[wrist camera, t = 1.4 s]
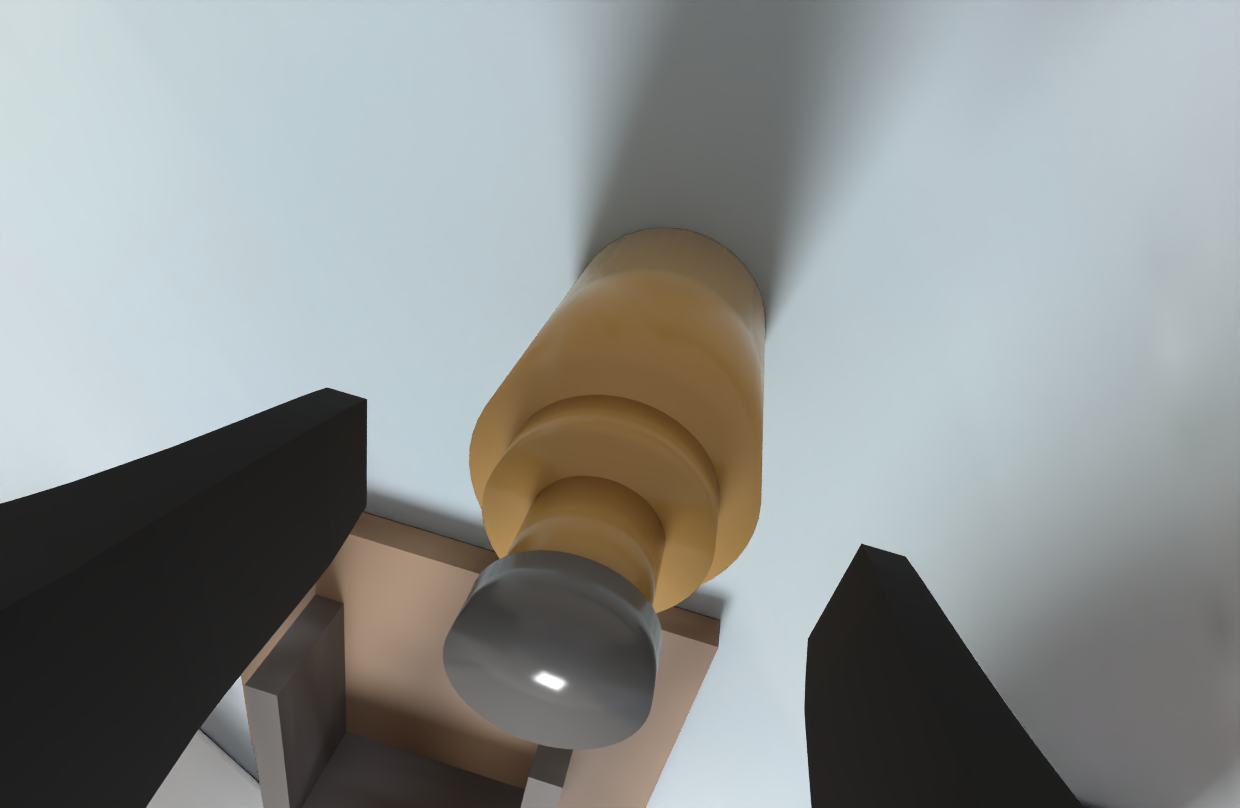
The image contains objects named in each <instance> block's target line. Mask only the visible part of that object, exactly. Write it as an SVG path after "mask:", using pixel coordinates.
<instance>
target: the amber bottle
mask: <svg viewBox="0 0 1240 808" xmlns="http://www.w3.org/2000/svg"><path fill="white" fill-rule="evenodd" d="M764 352H765V312H764V306H763V301H762V298H761V294H760V291H759V289H758V287H757V285H756V283H755V280H754V279H753V277H752V275H751V274H750V272H749V271H748V269H747V268H746V267H745V266H744V264H743V263H742V262H741V261H740V260H739V259H738V258H737V257H736V256H735V255H734V254H733V253H732V252H731V251H729V250H728V249H727V248H725V247H724V246H722V245H721V244H719V243H718V242H716V241H714V240H712V239H710V238H708V237H706V236H704V235H701V234H698V233H695V232H692V231H688V230H683V229H677V228H651V229H646V230H641V231H637V232H634V233H631V234H628V235H625V236H623V237H621V238H619V239H617V240H615V241H614V242H612V243H611V244H609V245H608V246H606V247H605V248H604V249H603V250H601V251H600V252H599V253H598V254H597V255H596V256H595V257H594V258H593V260H592V261H591V262H590V263H589V264H588V266H587V267H586V268H585V270H584V271H583V273H582V274H581V275H580V277H579V278H578V279H577V281H576V282H575V284H574V285H573V286H572V288H571V289H570V290H569V292H568V293H567V295H566V296H565V297H564V299H563V300H562V301H561V303H560V304H559V306H558V307H557V308H556V310H555V311H554V313H553V314H552V315H551V317H550V318H549V319H548V321H547V322H546V324H545V325H544V326H543V328H542V329H541V330H540V332H539V333H538V335H537V336H536V337H535V339H534V340H533V341H532V343H531V344H530V346H529V347H528V348H527V350H526V351H525V352H524V354H523V355H522V357H521V358H520V359H519V361H518V362H517V364H516V365H515V366H514V368H513V369H512V370H511V372H510V373H509V375H508V376H507V377H506V379H505V380H504V381H503V383H502V384H501V386H500V387H499V388H498V390H497V391H496V392H495V394H494V395H493V397H492V398H491V399H490V401H489V402H488V403H487V405H486V406H485V408H484V410H483V412H482V413H481V415H480V417H479V418H478V421H477V423H476V426H475V429H474V431H473V434H472V439H471V444H470V454H469V466H470V474H471V481H472V484H473V488H474V492H475V495H476V497H477V500H478V502H479V504H480V507H481V509H482V515H483V523H484V527H485V530H486V534H487V536H488V539H489V541H490V543H491V546H492V547H493V549H494V551H495V552H496V554H497V556H498V557H499V560H497V561H495V562H493V563H492V564H490V565H489V566H488V567H487V568H486V569H484V570H483V571H482V572H481V574H480V575H479V576H478V578H477V579H476V581H475V583H474V585H473V586H472V588H471V590H470V592H469V594H468V596H467V598H466V600H465V602H464V604H463V606H462V608H461V609H460V611H459V613H458V615H457V617H456V619H455V621H454V623H453V625H452V627H451V629H450V631H449V632H448V635H447V637H446V639H445V642H444V647H443V663H444V668H445V671H446V674H447V676H448V678H449V680H450V682H451V684H452V686H453V688H454V689H455V690H456V692H457V693H458V695H459V696H460V697H461V698H462V699H463V700H464V702H465V703H466V704H467V705H468V706H469V707H471V708H472V709H473V710H474V711H475V712H476V713H477V714H479V715H480V716H481V717H483V718H484V719H485V720H487V721H488V722H490V723H491V724H493V725H494V726H496V727H498V728H500V729H502V730H504V731H505V732H507V733H510V734H512V735H514V736H516V737H519V738H521V739H524V740H527V741H530V742H533V743H537V744H540V745H544V746H549V747H554V748H562V749H575V750H584V749H596V748H602V747H606V746H610V745H614V744H616V743H619V742H621V741H624V740H625V739H627V738H629V737H630V736H632V735H633V734H634V733H636V732H637V731H638V730H639V729H640V728H641V727H642V726H643V724H644V723H645V722H646V720H647V718H648V716H649V713H650V710H651V706H652V701H653V695H654V689H655V683H656V678H657V672H658V666H659V660H660V654H661V649H662V630H661V626H660V622H659V619H658V617H657V615H656V613H658V612H661V611H663V610H666V609H669V608H671V607H673V606H675V605H677V604H678V603H680V602H682V601H683V600H684V599H686V598H687V597H689V596H690V595H691V594H692V593H693V592H694V591H695V590H696V589H697V588H698V587H699V586H700V585H701V584H703V583H705V582H707V581H709V580H711V579H713V578H714V577H716V576H717V575H719V574H720V573H721V572H723V571H724V570H726V569H727V568H728V567H729V566H730V565H731V564H732V563H733V562H734V561H735V560H736V559H737V558H738V557H739V555H740V554H741V553H742V552H743V550H744V549H745V548H746V546H747V544H748V543H749V541H750V539H751V537H752V535H753V533H754V531H755V528H756V525H757V522H758V519H759V513H760V507H761V486H762V442H763V397H764Z"/></svg>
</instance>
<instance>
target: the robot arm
mask: <svg viewBox="0 0 1240 808" xmlns="http://www.w3.org/2000/svg"><path fill="white" fill-rule="evenodd" d="M366 498H367V399H365V398H361V397H358V396H354V395H351V394H347V393H344V392H341V391H337V390H334V389H330V388H324V389H321V390H318V391H315V392H312V393H310V394H307V395H304V396H301V397H299V398H296V399H293V400H291V401H288V402H286V403H283V404H281V405H278V406H276V407H273V408H270V409H268V410H265V411H263V412H260V413H258V414H255V415H253V416H250V417H248V418H245V419H243V420H240V421H238V422H235V423H233V424H230V425H228V426H225V427H222V428H220V429H217V430H215V431H212V432H210V433H207V434H204V435H202V436H199V437H197V438H194V439H192V440H189V441H187V442H184V443H181V444H179V445H176V446H174V447H171V448H168V449H165V450H163V451H160V452H157V453H154V454H151V455H148V456H145V457H143V458H140V459H137V460H134V461H131V462H128V463H125V464H123V465H120V466H117V467H114V468H111V469H108V470H105V471H103V472H100V473H97V474H94V475H91V476H88V477H86V478H83V479H80V480H77V481H74V482H71V483H68V484H64V485H61V486H58V487H55V488H52V489H49V490H45V491H42V492H39V493H35V494H32V495H29V496H26V497H22V498H19V499H15V500H12V501H8V502H5V503H1V504H0V808H146V807H147V805H148V804H149V802H150V801H151V799H152V798H153V796H154V795H155V793H156V792H157V790H158V789H159V787H160V786H161V784H162V783H163V781H164V780H165V778H166V777H167V776H168V774H169V773H170V771H171V770H172V768H173V767H174V765H175V764H176V762H177V761H178V759H179V758H180V756H181V755H182V753H183V752H184V750H185V749H186V747H187V746H188V744H189V743H190V741H191V740H192V738H193V737H194V735H195V734H196V732H197V731H198V730H199V728H200V727H201V725H202V724H203V723H204V721H205V720H206V719H207V717H208V716H209V715H210V713H211V712H212V711H213V709H214V708H215V707H216V706H217V704H218V703H219V702H220V700H221V699H222V698H223V696H224V695H225V694H226V692H227V691H228V690H229V689H230V688H231V686H232V685H233V684H234V683H235V681H236V680H237V679H238V678H239V677H240V675H241V674H242V673H243V672H244V670H245V669H246V668H247V667H248V666H249V664H250V663H251V662H252V661H253V659H254V658H255V657H256V656H257V655H258V653H259V652H260V651H261V650H262V648H263V647H264V646H265V645H266V644H267V642H268V641H269V640H270V639H271V637H272V636H273V635H274V634H275V632H276V631H277V630H278V629H279V628H280V626H281V625H282V624H283V623H284V621H285V620H286V619H287V618H288V617H289V615H290V614H291V613H292V612H293V610H294V609H295V608H296V607H297V606H298V604H299V603H300V602H301V601H302V599H303V598H304V597H305V596H306V594H307V593H308V592H309V591H310V589H311V588H312V587H313V586H314V584H315V583H316V582H317V581H318V579H319V578H320V577H321V576H322V574H323V573H324V572H325V570H326V569H327V568H328V567H329V565H330V564H331V563H332V561H333V560H334V558H335V556H336V555H337V553H338V552H339V550H340V549H341V547H342V545H343V544H344V542H345V541H346V539H347V538H348V536H349V534H350V533H351V531H352V529H353V528H354V526H355V524H356V523H357V521H358V519H359V518H360V516H361V514H362V512H363V511H364V509H365V507H366ZM804 709H805V726H806V740H807V754H808V767H809V780H810V793H811V805H812V808H1084V807H1083V806H1082V805H1081V804H1080V802H1079V801H1078V800H1077V798H1076V797H1075V796H1074V795H1073V793H1072V792H1071V791H1070V789H1069V788H1068V787H1067V785H1066V784H1065V783H1064V781H1063V780H1062V779H1061V778H1060V776H1059V775H1058V774H1057V772H1056V771H1055V770H1054V768H1053V767H1052V766H1051V764H1050V763H1049V762H1048V761H1047V759H1046V758H1045V757H1044V755H1043V754H1042V753H1041V751H1040V750H1039V749H1038V747H1037V746H1036V745H1035V743H1034V742H1033V741H1032V739H1031V738H1030V737H1029V735H1028V734H1027V733H1026V731H1025V730H1024V728H1023V727H1022V726H1021V724H1020V723H1019V722H1018V720H1017V719H1016V717H1015V716H1014V715H1013V713H1012V712H1011V710H1010V709H1009V708H1008V706H1007V705H1006V703H1005V702H1004V701H1003V699H1002V698H1001V696H1000V695H999V693H998V692H997V691H996V689H995V688H994V686H993V685H992V683H991V682H990V681H989V679H988V678H987V676H986V675H985V673H984V672H983V670H982V669H981V667H980V666H979V665H978V663H977V662H976V660H975V659H974V657H973V656H972V654H971V653H970V651H969V650H968V648H967V647H966V645H965V644H964V642H963V641H962V639H961V638H960V636H959V635H958V633H957V632H956V630H955V629H954V627H953V626H952V624H951V623H950V621H949V620H948V618H947V617H946V615H945V614H944V612H943V611H942V609H941V608H940V606H939V605H938V603H937V602H936V600H935V599H934V597H933V596H932V594H931V593H930V591H929V590H928V588H927V587H926V585H925V584H924V582H923V581H922V579H921V578H920V576H919V575H918V573H917V572H916V571H915V569H914V568H913V566H912V565H911V564H910V562H909V561H908V559H907V558H906V557H905V556H902V555H898V554H895V553H891V552H888V551H885V550H881V549H878V548H874V547H871V546H867V545H864V544H861V546H860V547H859V549H858V551H857V553H856V555H855V556H854V558H853V560H852V562H851V563H850V565H849V567H848V569H847V570H846V572H845V574H844V576H843V578H842V579H841V581H840V583H839V585H838V586H837V588H836V590H835V592H834V594H833V595H832V597H831V599H830V601H829V602H828V604H827V606H826V608H825V610H824V611H823V613H822V615H821V617H820V618H819V620H818V622H817V624H816V626H815V627H814V629H813V631H812V633H811V634H810V636H809V638H808V647H807V663H806V681H805V708H804Z"/></svg>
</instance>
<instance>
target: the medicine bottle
mask: <svg viewBox="0 0 1240 808" xmlns="http://www.w3.org/2000/svg"><path fill="white" fill-rule="evenodd" d="M146 808H263V803H262V797H261V790H260V784H259V783H258V782H257V781H256V780H255V779H254V778H253V777H252V776H250V775H249V774H248V773H247V772H246V771H245V770H244V769H243V768H242V767H240V766H239V765H238V764H237V763H236V762H235V761H234V760H233V759H232V758H230V757H229V756H228V755H227V754H226V753H225V752H224V751H223V750H222V749H220V748H219V747H218V746H217V745H216V744H215V743H214V742H213V741H212V740H210V739H209V738H208V737H207V736H206V735H205V734H204V733H203V732H202V731H200V730H198V731H197V732H196V734H195V735H194V737H193V738H192V740H191V741H190V743H189V744H188V746H187V747H186V749H185V750H184V752H183V753H182V755H181V756H180V758H179V759H178V761H177V762H176V764H175V765H174V767H173V768H172V770H171V771H170V773H169V774H168V776H167V777H166V778H165V780H164V781H163V783H162V784H161V786H160V787H159V789H158V790H157V792H156V793H155V795H154V796H153V798H152V799H151V801H150V802H149V804H148V805H147V807H146Z"/></svg>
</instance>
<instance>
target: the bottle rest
mask: <svg viewBox="0 0 1240 808" xmlns="http://www.w3.org/2000/svg"><path fill="white" fill-rule="evenodd" d="M497 560H499V557H498V556H497V554H496V552H493V551H489V550H486V549H483V548H479V547H476V546H473V545H470V544H466V543H463V542H460V541H456V540H453V539H450V538H447V537H443V536H440V535H437V534H434V533H430V532H427V531H424V530H420V529H417V528H414V527H411V526H407V525H404V524H401V523H397V522H394V521H391V520H388V519H384V518H381V517H378V516H374V515H371V514H368V513H365V512H362V514H361V516H360V518H359V519H358V521H357V523H356V524H355V526H354V528H353V529H352V531H351V533H350V534H349V536H348V538H347V539H346V541H345V542H344V544H343V545H342V547H341V549H340V550H339V552H338V553H337V555H336V556H335V558H334V560H333V561H332V563H331V564H330V565H329V567H328V568H327V569H326V570H325V572H324V573H323V574H322V576H321V577H320V578H319V579H318V581H317V582H316V583H315V584H314V586H313V587H312V588H311V589H310V591H309V592H308V593H307V594H306V596H305V597H304V598H303V599H302V601H301V602H300V603H299V604H298V606H297V607H296V608H295V609H294V610H293V612H292V613H291V614H290V615H289V617H288V618H287V619H286V620H285V621H284V623H283V624H282V625H281V626H280V628H279V629H278V630H277V631H276V632H275V634H274V635H273V636H272V637H271V639H270V640H269V641H268V642H267V644H266V645H265V646H264V647H263V648H262V650H261V651H260V652H259V653H258V655H257V656H256V657H255V658H254V659H253V661H252V662H251V663H250V664H249V666H248V667H247V668H246V669H245V670H244V672H243V673H242V674H241V678H242V685H243V691H244V697H245V704H246V710H247V716H248V723H249V729H250V736H251V742H252V745H254V751H255V758H256V764H257V771H258V777H259V784H260V790H261V797H262V803H263V808H646V806H647V803H648V801H649V799H650V797H651V795H652V792H653V790H654V788H655V786H656V784H657V781H658V779H659V777H660V775H661V773H662V770H663V768H664V766H665V764H666V762H667V759H668V757H669V755H670V753H671V751H672V748H673V746H674V744H675V742H676V739H677V737H678V735H679V733H680V731H681V728H682V726H683V724H684V722H685V720H686V717H687V715H688V713H689V711H690V709H691V706H692V704H693V702H694V700H695V698H696V695H697V693H698V691H699V689H700V686H701V684H702V682H703V680H704V678H705V675H706V673H707V671H708V669H709V667H710V664H711V662H712V660H713V658H714V656H715V653H716V651H717V649H718V644H719V633H720V621H719V620H716V619H713V618H709V617H706V616H703V615H700V614H696V613H693V612H690V611H686V610H683V609H680V608H677V607H671V608H669V609H666V610H663V611H661V612H658V613H656V615H657V617H658V619H659V622H660V626H661V630H662V649H661V654H660V660H659V666H658V672H657V678H656V683H655V689H654V695H653V701H652V706H651V710H650V713H649V716H648V718H647V720H646V722H645V723H644V724H643V726H642V727H641V728H640V729H639V730H638V731H637V732H636V733H634V734H633V735H632V736H630V737H629V738H627V739H625V740H624V741H621V742H619V743H616V744H614V745H610V746H606V747H602V748H596V749H584V750H575V749H562V748H554V747H549V746H544V745H540V744H537V743H533V742H530V741H527V740H524V739H521V738H519V737H516V736H514V735H512V734H510V733H507V732H505V731H504V730H502V729H500V728H498V727H496V726H494V725H493V724H491V723H490V722H488V721H487V720H485V719H484V718H483V717H481V716H480V715H479V714H477V713H476V712H475V711H474V710H473V709H472V708H471V707H469V706H468V705H467V704H466V703H465V702H464V700H463V699H462V698H461V697H460V696H459V695H458V693H457V692H456V690H455V689H454V688H453V686H452V684H451V682H450V680H449V678H448V676H447V674H446V671H445V668H444V663H443V647H444V642H445V639H446V637H447V635H448V632H449V631H450V629H451V627H452V625H453V623H454V621H455V619H456V617H457V615H458V613H459V611H460V609H461V608H462V606H463V604H464V602H465V600H466V598H467V596H468V594H469V592H470V590H471V588H472V586H473V585H474V583H475V581H476V579H477V578H478V576H479V575H480V574H481V572H482V571H483V570H484V569H486V568H487V567H488V566H489V565H490V564H492V563H493V562H495V561H497Z"/></svg>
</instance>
